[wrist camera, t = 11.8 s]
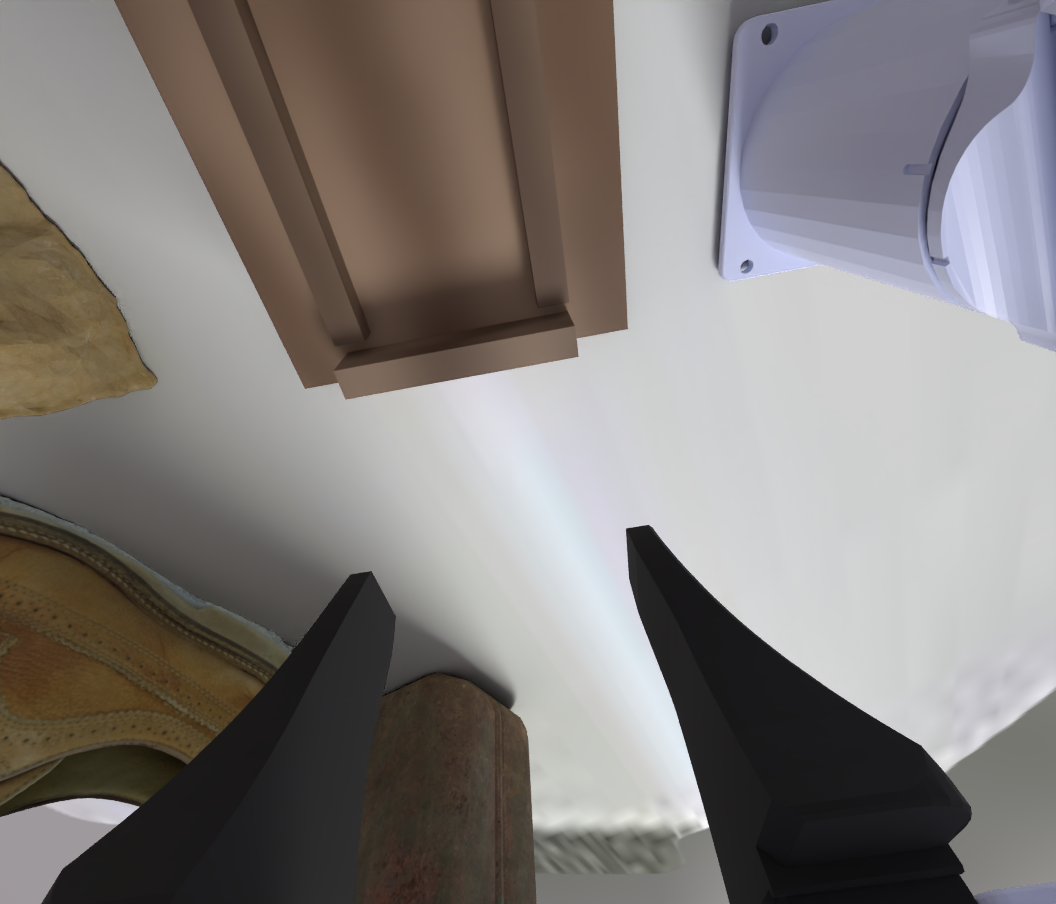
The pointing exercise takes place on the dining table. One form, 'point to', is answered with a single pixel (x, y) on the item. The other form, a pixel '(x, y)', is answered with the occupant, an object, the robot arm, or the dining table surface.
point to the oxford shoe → (109, 667)
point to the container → (446, 800)
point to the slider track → (406, 174)
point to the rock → (55, 319)
